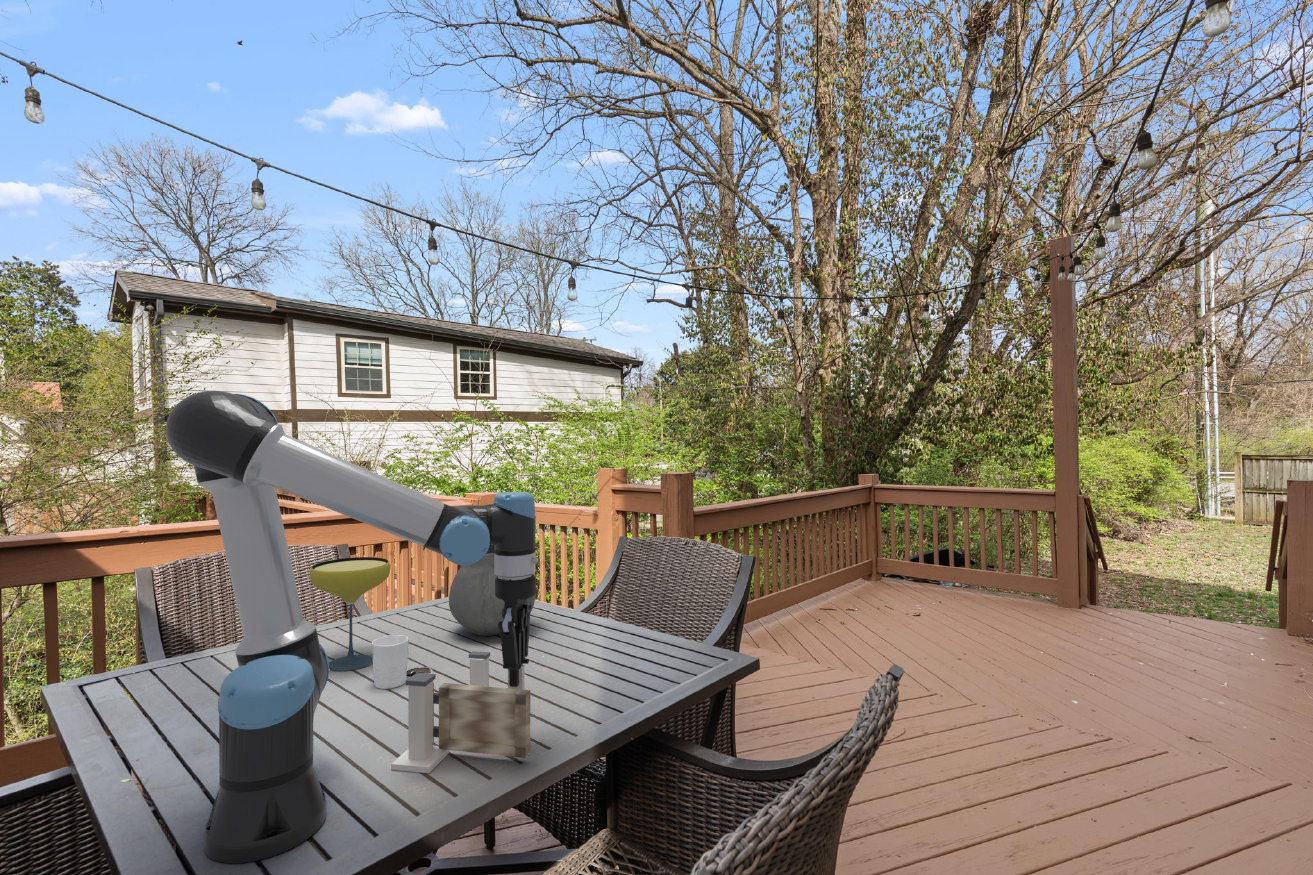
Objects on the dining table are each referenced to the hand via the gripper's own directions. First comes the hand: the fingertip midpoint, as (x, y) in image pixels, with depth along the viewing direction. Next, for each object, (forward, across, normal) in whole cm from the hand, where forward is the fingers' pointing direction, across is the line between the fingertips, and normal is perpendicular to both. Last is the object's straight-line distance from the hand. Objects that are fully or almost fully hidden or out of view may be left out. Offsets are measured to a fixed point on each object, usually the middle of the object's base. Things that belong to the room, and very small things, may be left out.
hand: (516, 700), depth 117 cm
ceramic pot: (+8, +63, +27) cm, 69 cm away
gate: (+6, -6, +5) cm, 10 cm away
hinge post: (+8, -8, +15) cm, 18 cm away
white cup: (+8, +24, +38) cm, 45 cm away
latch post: (+8, +16, +13) cm, 22 cm away
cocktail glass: (+8, +36, +54) cm, 65 cm away
